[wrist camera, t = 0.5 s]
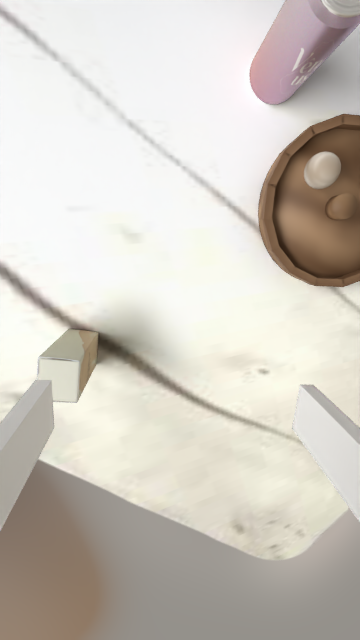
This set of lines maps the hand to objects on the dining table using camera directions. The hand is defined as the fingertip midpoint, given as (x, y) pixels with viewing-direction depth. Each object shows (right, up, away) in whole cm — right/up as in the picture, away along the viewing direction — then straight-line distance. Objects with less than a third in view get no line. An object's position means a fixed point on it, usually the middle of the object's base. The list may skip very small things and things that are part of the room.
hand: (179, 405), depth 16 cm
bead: (+17, +23, +22) cm, 36 cm away
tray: (+20, +19, +24) cm, 37 cm away
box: (-14, +1, +26) cm, 29 cm away
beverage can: (+11, +33, +20) cm, 40 cm away
